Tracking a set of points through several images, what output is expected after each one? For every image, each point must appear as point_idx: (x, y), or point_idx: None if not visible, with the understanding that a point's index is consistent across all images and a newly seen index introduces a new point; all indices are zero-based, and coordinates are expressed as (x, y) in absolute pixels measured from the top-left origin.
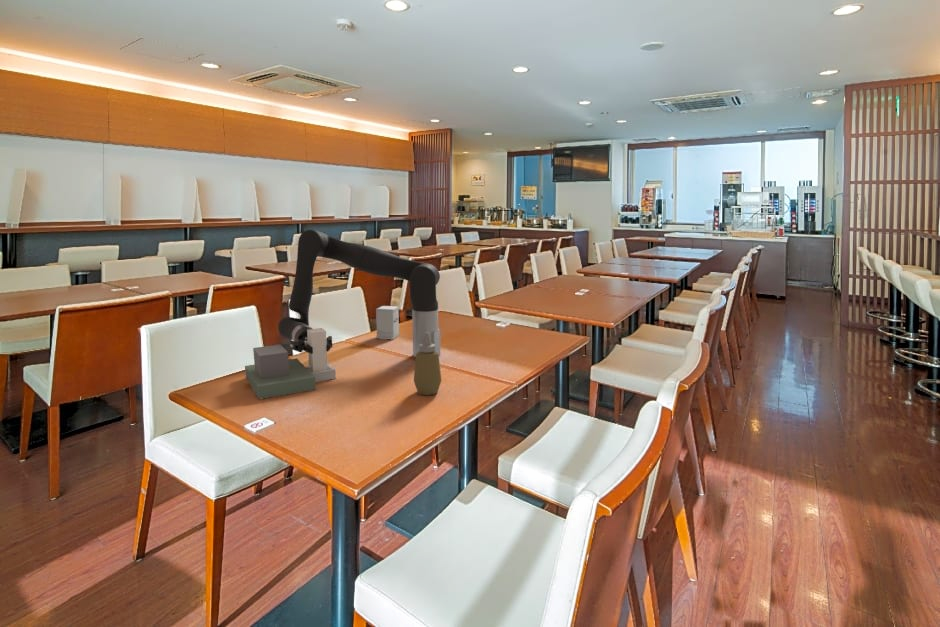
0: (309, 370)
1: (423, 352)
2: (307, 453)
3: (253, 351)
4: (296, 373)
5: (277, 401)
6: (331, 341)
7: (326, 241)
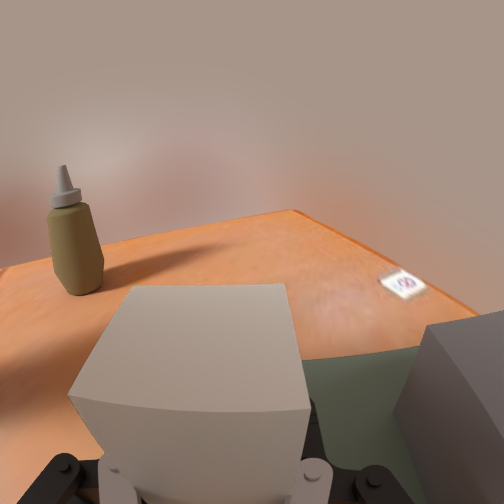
0: None
1: (78, 202)
2: (327, 232)
3: None
4: (363, 417)
5: None
6: (67, 458)
7: None
